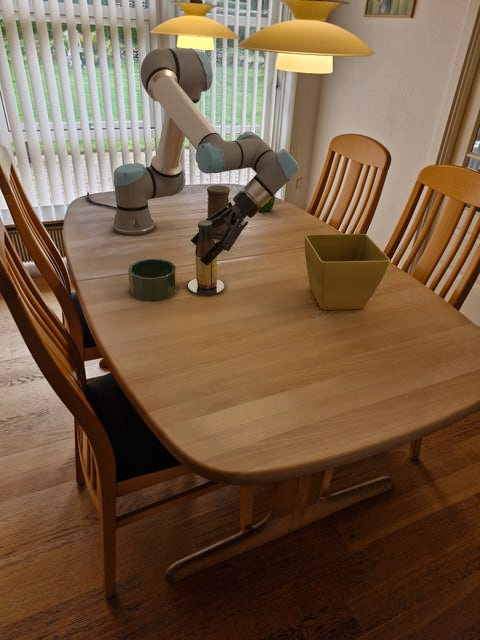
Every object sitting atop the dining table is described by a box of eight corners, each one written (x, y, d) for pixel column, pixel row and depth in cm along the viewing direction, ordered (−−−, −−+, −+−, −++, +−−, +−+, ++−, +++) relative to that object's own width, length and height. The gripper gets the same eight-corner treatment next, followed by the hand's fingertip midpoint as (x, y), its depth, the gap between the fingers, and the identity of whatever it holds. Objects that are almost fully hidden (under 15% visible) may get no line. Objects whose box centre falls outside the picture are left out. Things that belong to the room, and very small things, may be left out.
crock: (121, 292, 128) (118, 271, 124) (150, 275, 138) (148, 255, 134) (157, 305, 123) (156, 283, 119) (185, 286, 133) (184, 265, 129)
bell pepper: (273, 214, 192) (275, 191, 187) (254, 212, 193) (255, 189, 188) (274, 208, 199) (276, 186, 194) (256, 206, 200) (258, 184, 195)
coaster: (180, 289, 131) (180, 287, 131) (200, 275, 139) (200, 273, 139) (211, 299, 127) (211, 297, 127) (230, 284, 135) (230, 283, 135)
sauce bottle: (211, 278, 137) (212, 217, 126) (220, 287, 132) (222, 224, 121) (192, 282, 134) (191, 220, 123) (200, 292, 129) (200, 227, 119)
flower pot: (312, 317, 121) (321, 261, 112) (297, 284, 137) (303, 233, 128) (378, 315, 124) (392, 260, 115) (355, 283, 140) (366, 233, 131)
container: (229, 239, 165) (230, 192, 156) (205, 238, 165) (205, 190, 155) (229, 231, 173) (231, 185, 163) (207, 230, 173) (207, 183, 163)
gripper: (274, 223, 114) (217, 279, 119) (246, 194, 134) (198, 243, 139) (256, 204, 110) (198, 263, 114) (230, 177, 130) (181, 228, 134)
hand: (198, 252), depth 126 cm, fingers open, 13 cm apart
